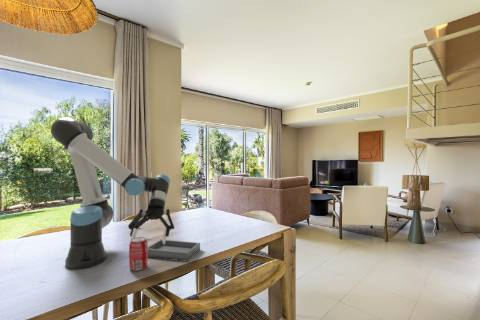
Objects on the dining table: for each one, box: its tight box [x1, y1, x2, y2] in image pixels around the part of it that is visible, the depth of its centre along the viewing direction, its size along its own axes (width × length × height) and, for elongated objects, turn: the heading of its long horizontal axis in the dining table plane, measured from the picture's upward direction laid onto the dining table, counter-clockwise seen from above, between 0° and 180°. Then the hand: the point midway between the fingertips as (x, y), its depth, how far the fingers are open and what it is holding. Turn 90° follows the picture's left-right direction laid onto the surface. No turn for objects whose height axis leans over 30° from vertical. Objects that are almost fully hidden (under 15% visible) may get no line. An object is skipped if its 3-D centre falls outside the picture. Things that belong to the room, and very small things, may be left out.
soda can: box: [128, 236, 149, 272], centre depth 100 cm, size 7×7×12 cm
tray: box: [148, 238, 201, 262], centre depth 116 cm, size 22×14×4 cm, turn 77°
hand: (147, 243), depth 104 cm, fingers open, 13 cm apart
